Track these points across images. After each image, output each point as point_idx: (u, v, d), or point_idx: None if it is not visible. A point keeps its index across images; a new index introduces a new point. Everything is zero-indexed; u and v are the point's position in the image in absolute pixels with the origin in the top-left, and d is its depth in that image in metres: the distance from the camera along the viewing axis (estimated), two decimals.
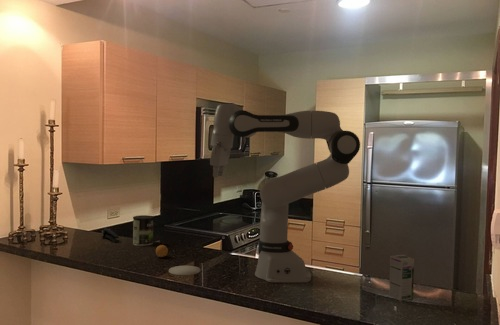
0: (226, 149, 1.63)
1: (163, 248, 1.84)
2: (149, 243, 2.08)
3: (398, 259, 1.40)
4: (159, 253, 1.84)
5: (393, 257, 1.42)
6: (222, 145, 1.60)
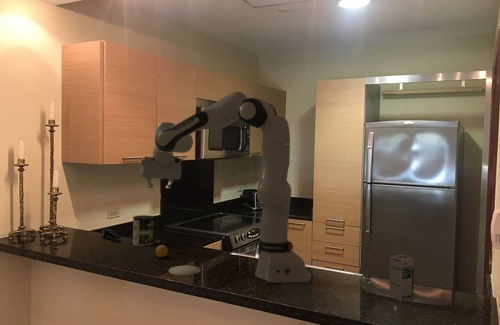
0: (161, 163, 1.82)
1: (163, 248, 1.84)
2: (149, 243, 2.08)
3: (398, 259, 1.40)
4: (159, 253, 1.84)
5: (393, 257, 1.42)
6: (155, 159, 1.81)
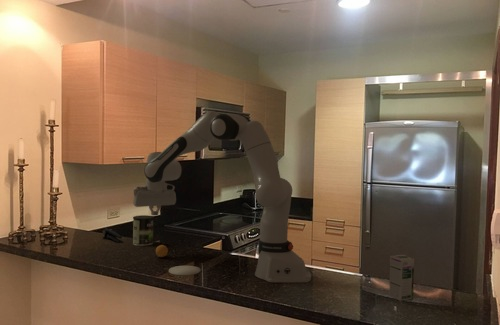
0: (153, 192, 1.90)
1: (163, 248, 1.84)
2: (149, 243, 2.08)
3: (398, 259, 1.40)
4: (159, 253, 1.84)
5: (393, 257, 1.42)
6: (147, 188, 1.89)
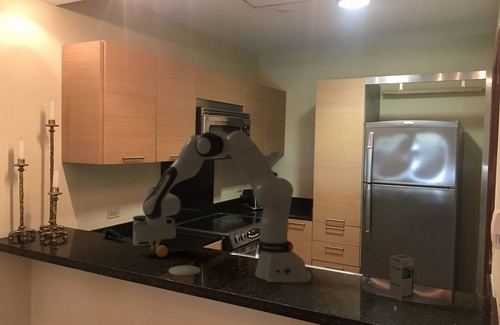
0: (153, 226, 1.90)
1: (163, 248, 1.84)
2: (149, 243, 2.08)
3: (398, 259, 1.40)
4: (159, 253, 1.84)
5: (393, 257, 1.42)
6: (147, 223, 1.90)
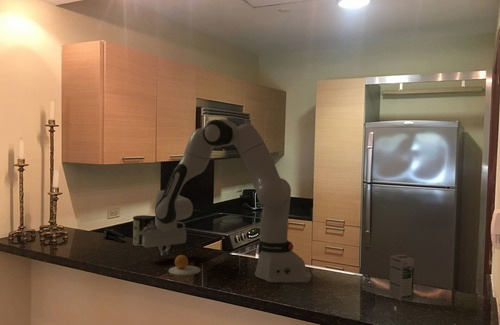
0: (163, 231, 1.80)
1: (183, 265, 1.68)
2: None
3: (398, 259, 1.40)
4: None
5: (393, 257, 1.42)
6: (157, 228, 1.80)
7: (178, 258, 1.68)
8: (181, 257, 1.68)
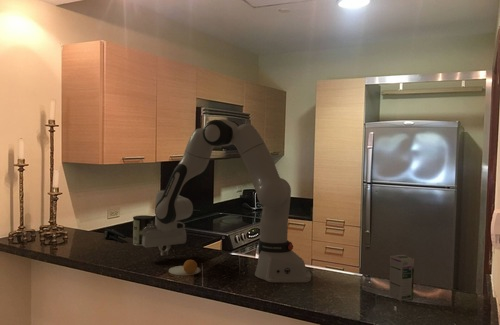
0: (163, 231, 1.80)
1: None
2: None
3: (398, 259, 1.40)
4: (185, 262, 1.63)
5: (393, 257, 1.42)
6: (157, 228, 1.80)
7: (185, 271, 1.63)
8: None
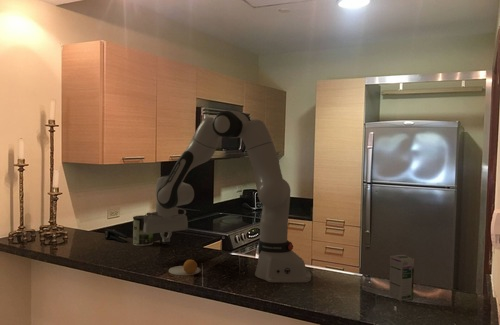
0: (164, 217, 1.80)
1: None
2: (149, 243, 2.08)
3: (398, 259, 1.40)
4: (185, 262, 1.63)
5: (393, 257, 1.42)
6: (158, 214, 1.80)
7: (185, 271, 1.63)
8: None
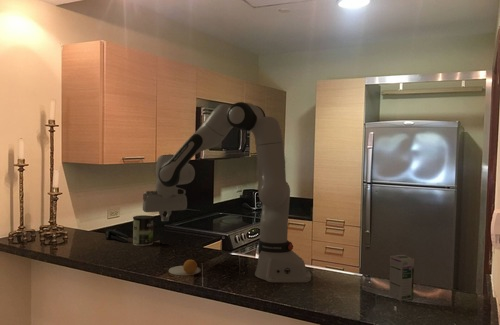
0: (164, 196, 1.80)
1: None
2: (149, 243, 2.08)
3: (398, 259, 1.40)
4: (185, 262, 1.63)
5: (393, 257, 1.42)
6: (157, 193, 1.80)
7: (185, 271, 1.63)
8: None
